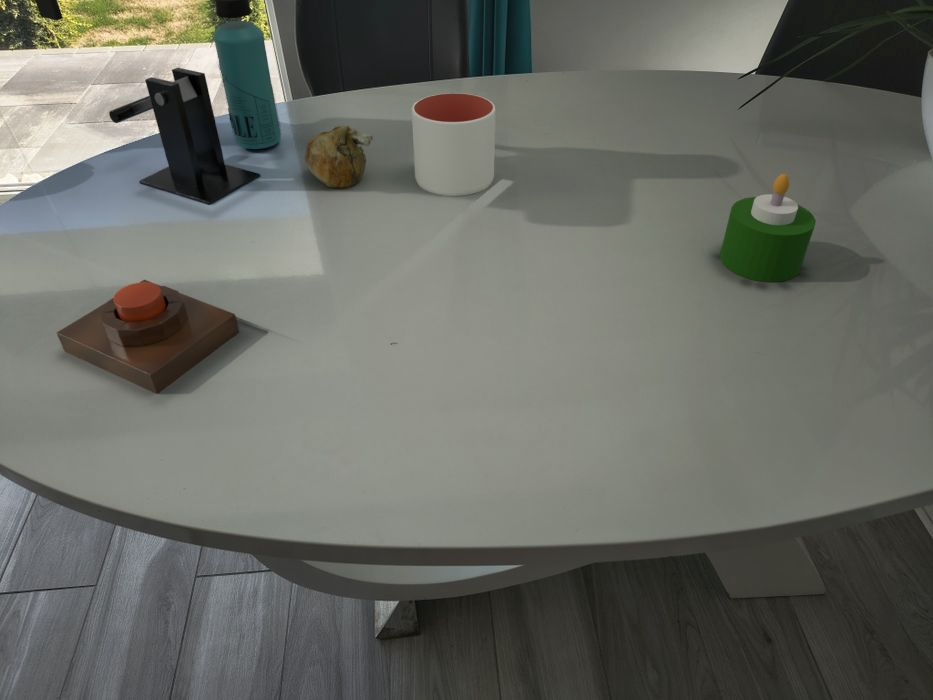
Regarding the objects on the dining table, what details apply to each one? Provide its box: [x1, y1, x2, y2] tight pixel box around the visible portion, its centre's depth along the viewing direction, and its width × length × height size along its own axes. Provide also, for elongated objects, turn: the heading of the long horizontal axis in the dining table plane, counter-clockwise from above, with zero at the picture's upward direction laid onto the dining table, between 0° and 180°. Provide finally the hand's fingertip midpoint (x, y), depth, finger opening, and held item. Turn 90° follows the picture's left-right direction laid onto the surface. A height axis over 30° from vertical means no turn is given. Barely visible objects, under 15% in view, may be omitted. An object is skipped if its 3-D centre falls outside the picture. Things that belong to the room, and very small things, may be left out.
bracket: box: [138, 67, 262, 206], centre depth 89 cm, size 12×9×14 cm
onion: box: [304, 125, 374, 189], centre depth 91 cm, size 8×8×8 cm
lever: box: [108, 76, 197, 124], centre depth 89 cm, size 12×6×2 cm, turn 61°
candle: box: [719, 173, 816, 283], centre depth 76 cm, size 8×8×10 cm
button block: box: [56, 279, 240, 395], centre depth 67 cm, size 12×10×4 cm
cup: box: [411, 92, 496, 197], centre depth 90 cm, size 10×10×10 cm
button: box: [112, 281, 166, 322], centre depth 65 cm, size 4×4×2 cm
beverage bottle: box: [212, 0, 283, 150], centre depth 96 cm, size 6×7×20 cm
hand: (103, 4), depth 85 cm, fingers open, 13 cm apart
